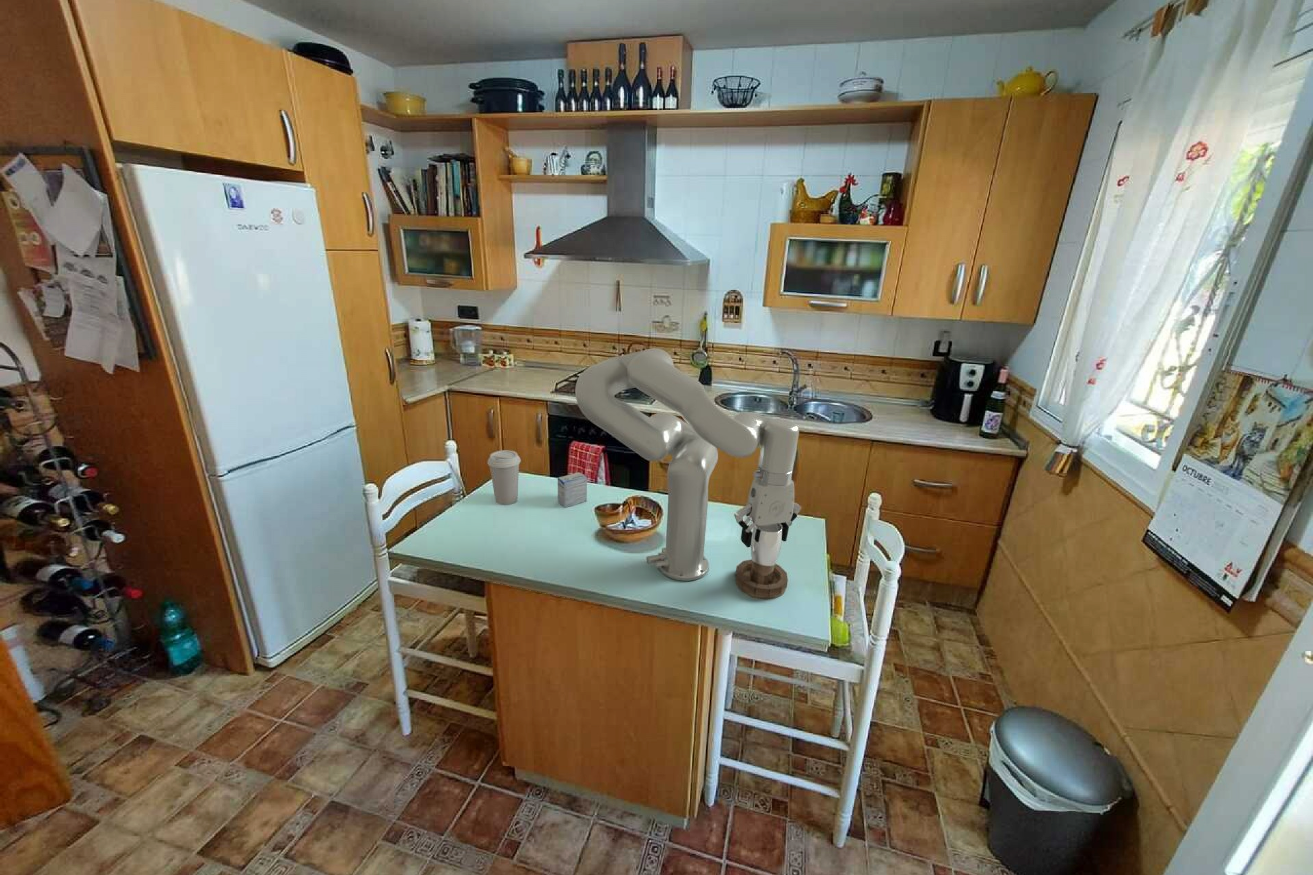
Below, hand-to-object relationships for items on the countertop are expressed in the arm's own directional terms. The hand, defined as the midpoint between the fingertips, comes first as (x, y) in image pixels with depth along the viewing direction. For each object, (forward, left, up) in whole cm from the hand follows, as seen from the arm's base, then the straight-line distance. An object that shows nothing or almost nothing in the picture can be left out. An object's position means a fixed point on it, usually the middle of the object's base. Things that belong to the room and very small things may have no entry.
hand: (763, 541), depth 121 cm
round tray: (0, 0, -12) cm, 12 cm away
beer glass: (+1, 0, -11) cm, 11 cm away
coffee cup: (-53, +61, -12) cm, 81 cm away
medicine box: (-34, +54, -12) cm, 64 cm away
